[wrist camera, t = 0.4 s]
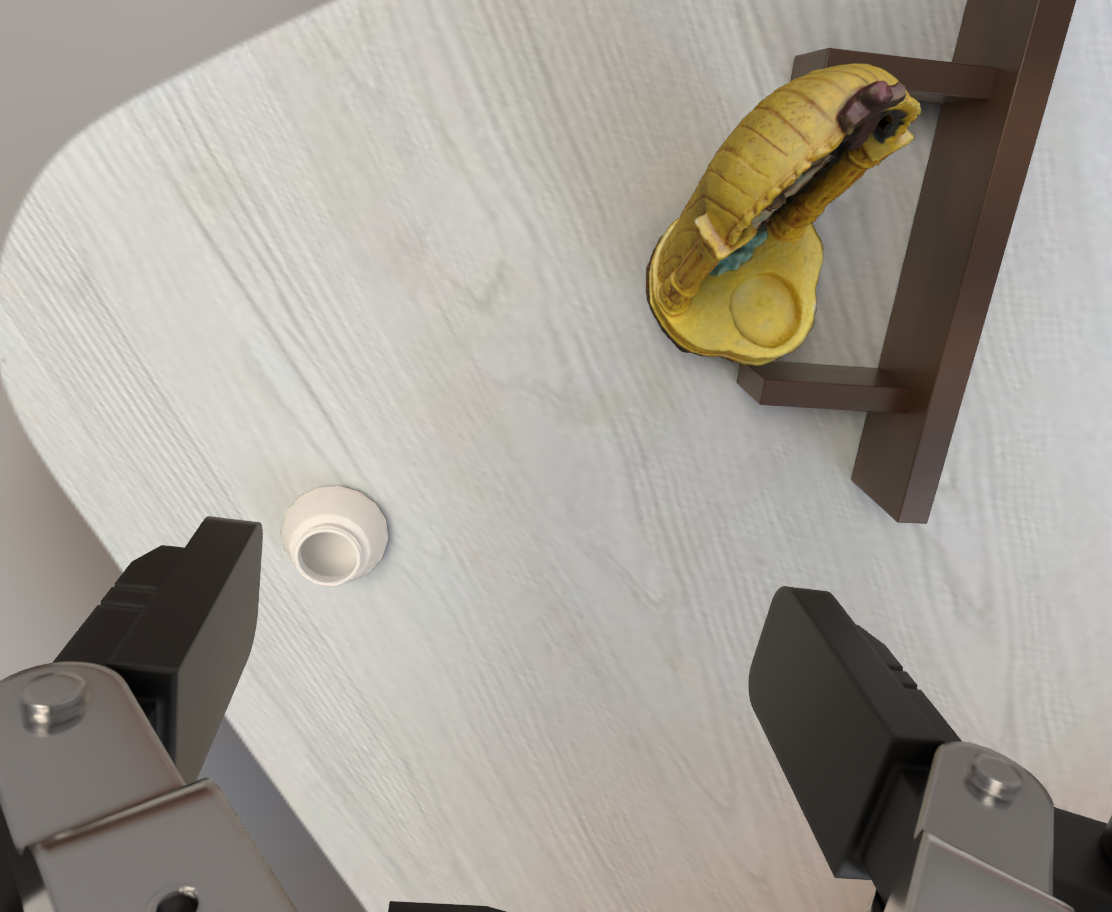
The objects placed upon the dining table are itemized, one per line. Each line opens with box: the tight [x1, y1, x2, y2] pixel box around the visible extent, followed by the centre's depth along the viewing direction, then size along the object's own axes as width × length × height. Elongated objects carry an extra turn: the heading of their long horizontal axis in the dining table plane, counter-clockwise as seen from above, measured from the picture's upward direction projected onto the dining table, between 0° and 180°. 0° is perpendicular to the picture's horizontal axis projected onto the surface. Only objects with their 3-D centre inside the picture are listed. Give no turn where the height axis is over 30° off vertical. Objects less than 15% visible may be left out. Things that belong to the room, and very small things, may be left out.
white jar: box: [281, 486, 388, 586], centre depth 39 cm, size 5×3×5 cm
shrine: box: [646, 64, 921, 367], centre depth 30 cm, size 12×8×15 cm
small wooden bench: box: [737, 0, 1076, 524], centre depth 35 cm, size 24×8×5 cm, turn 175°
